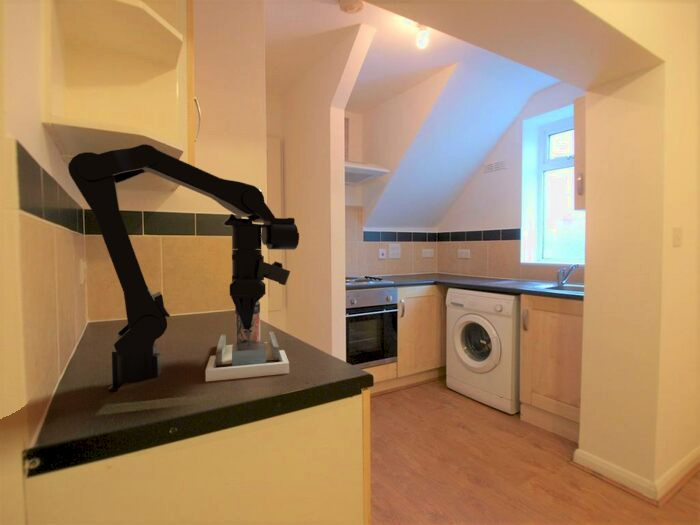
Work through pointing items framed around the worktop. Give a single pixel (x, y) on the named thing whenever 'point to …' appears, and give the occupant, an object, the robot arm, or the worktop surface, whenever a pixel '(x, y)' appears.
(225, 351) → the slot plate
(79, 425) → the worktop surface
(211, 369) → the tray
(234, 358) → the grey block
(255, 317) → the beer can
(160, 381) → the worktop surface
